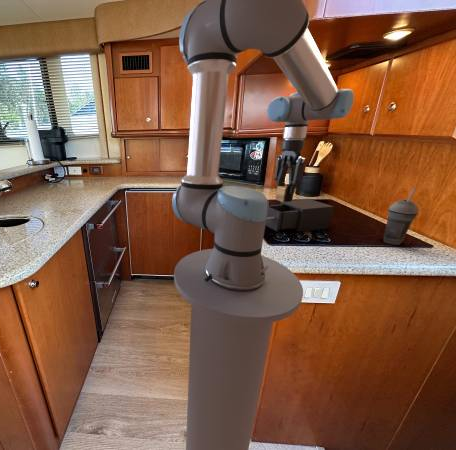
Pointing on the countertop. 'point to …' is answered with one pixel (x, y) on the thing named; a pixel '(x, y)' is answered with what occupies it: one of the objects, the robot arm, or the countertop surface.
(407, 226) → the beverage cup
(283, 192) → the block
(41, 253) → the countertop surface
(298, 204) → the dark brown box
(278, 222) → the basket
